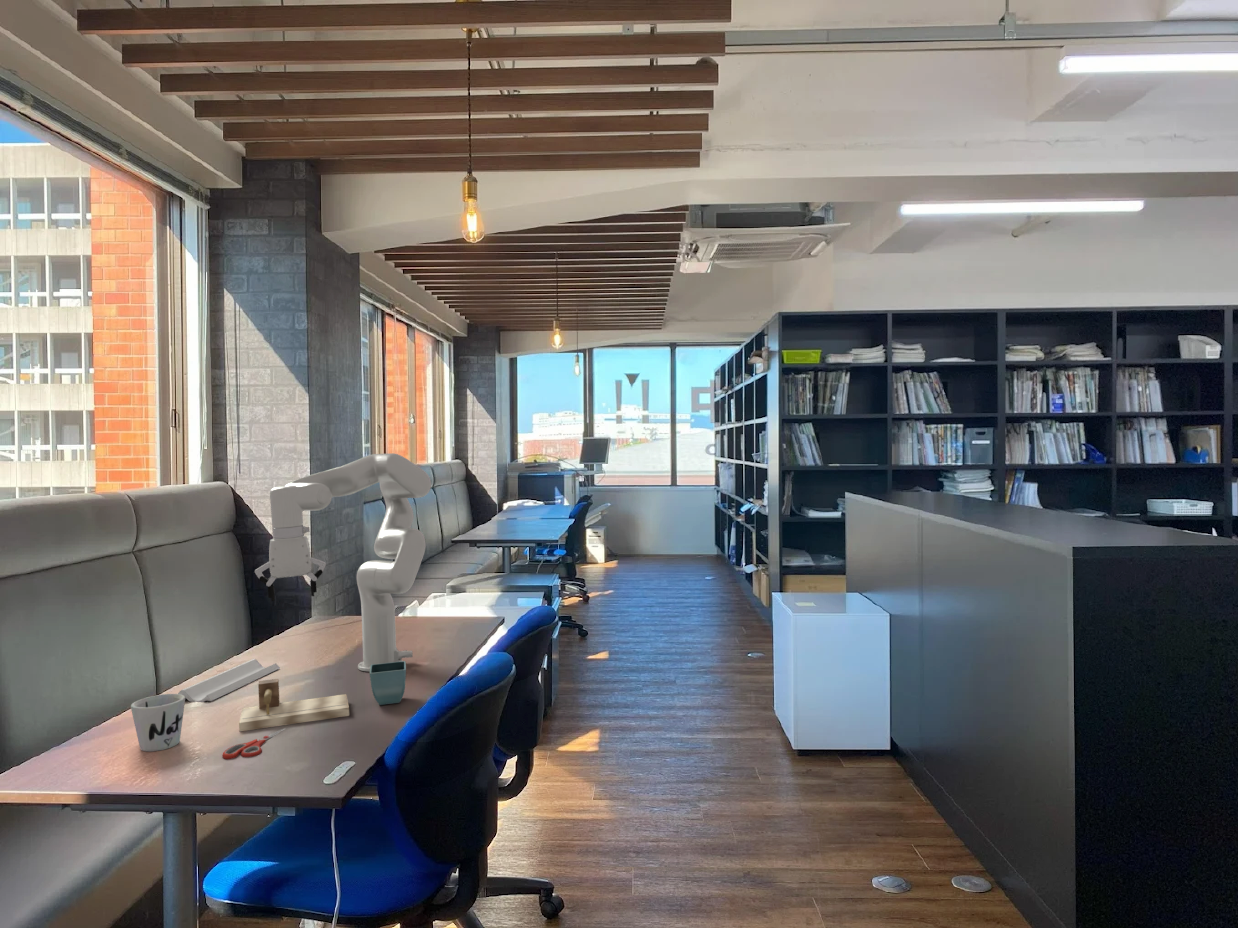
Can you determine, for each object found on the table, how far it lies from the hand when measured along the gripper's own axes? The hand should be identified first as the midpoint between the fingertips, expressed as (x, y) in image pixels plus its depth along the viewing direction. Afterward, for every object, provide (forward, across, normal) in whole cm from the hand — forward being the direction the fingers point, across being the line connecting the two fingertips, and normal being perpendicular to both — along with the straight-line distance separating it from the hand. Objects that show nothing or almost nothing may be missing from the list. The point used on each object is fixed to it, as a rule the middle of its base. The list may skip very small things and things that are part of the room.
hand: (293, 597), depth 208 cm
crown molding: (+27, +18, -22) cm, 39 cm away
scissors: (+26, +9, +33) cm, 42 cm away
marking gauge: (+25, +7, +17) cm, 31 cm away
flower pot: (+26, -21, +18) cm, 38 cm away
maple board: (+26, +1, +18) cm, 31 cm away
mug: (+25, +30, +24) cm, 46 cm away
